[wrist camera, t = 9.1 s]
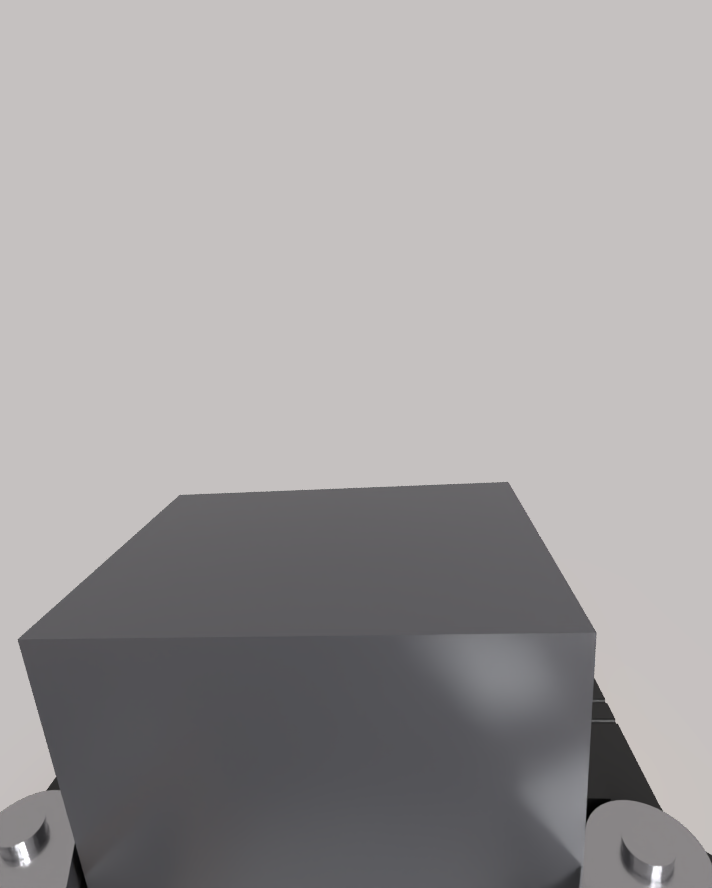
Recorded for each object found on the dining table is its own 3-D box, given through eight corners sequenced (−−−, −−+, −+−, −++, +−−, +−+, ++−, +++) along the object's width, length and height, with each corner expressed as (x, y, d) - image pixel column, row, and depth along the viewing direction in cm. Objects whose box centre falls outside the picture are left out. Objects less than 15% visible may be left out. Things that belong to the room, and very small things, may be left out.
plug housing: (178, 1210, 8) (17, 638, 5) (251, 911, 12) (179, 495, 9) (561, 1249, 7) (596, 632, 5) (506, 921, 11) (508, 481, 9)
